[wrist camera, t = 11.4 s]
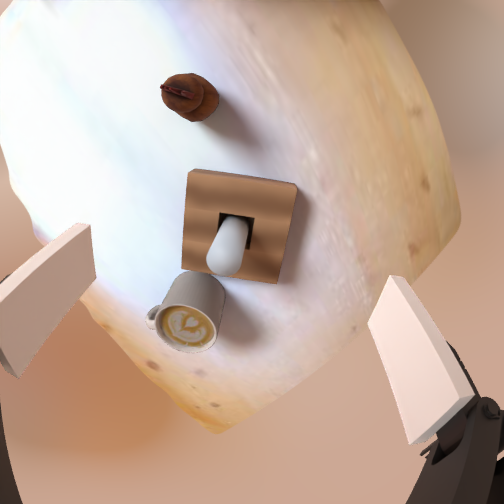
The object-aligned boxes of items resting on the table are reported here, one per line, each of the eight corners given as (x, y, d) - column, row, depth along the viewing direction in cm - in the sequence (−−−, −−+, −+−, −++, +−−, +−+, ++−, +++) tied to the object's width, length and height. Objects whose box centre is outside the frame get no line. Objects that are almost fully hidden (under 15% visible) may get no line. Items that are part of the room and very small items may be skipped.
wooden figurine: (230, 101, 36) (211, 86, 22) (202, 128, 38) (169, 130, 24) (198, 72, 34) (163, 47, 20) (171, 100, 36) (125, 90, 22)
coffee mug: (222, 270, 47) (213, 305, 38) (227, 317, 51) (220, 354, 42) (149, 270, 48) (127, 301, 39) (160, 314, 52) (143, 348, 43)
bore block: (194, 168, 40) (187, 172, 36) (294, 183, 40) (297, 189, 37) (187, 257, 46) (181, 268, 43) (276, 271, 47) (276, 284, 43)
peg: (225, 210, 42) (208, 241, 31) (251, 214, 42) (243, 247, 31) (221, 234, 43) (204, 272, 32) (247, 239, 43) (238, 278, 32)
